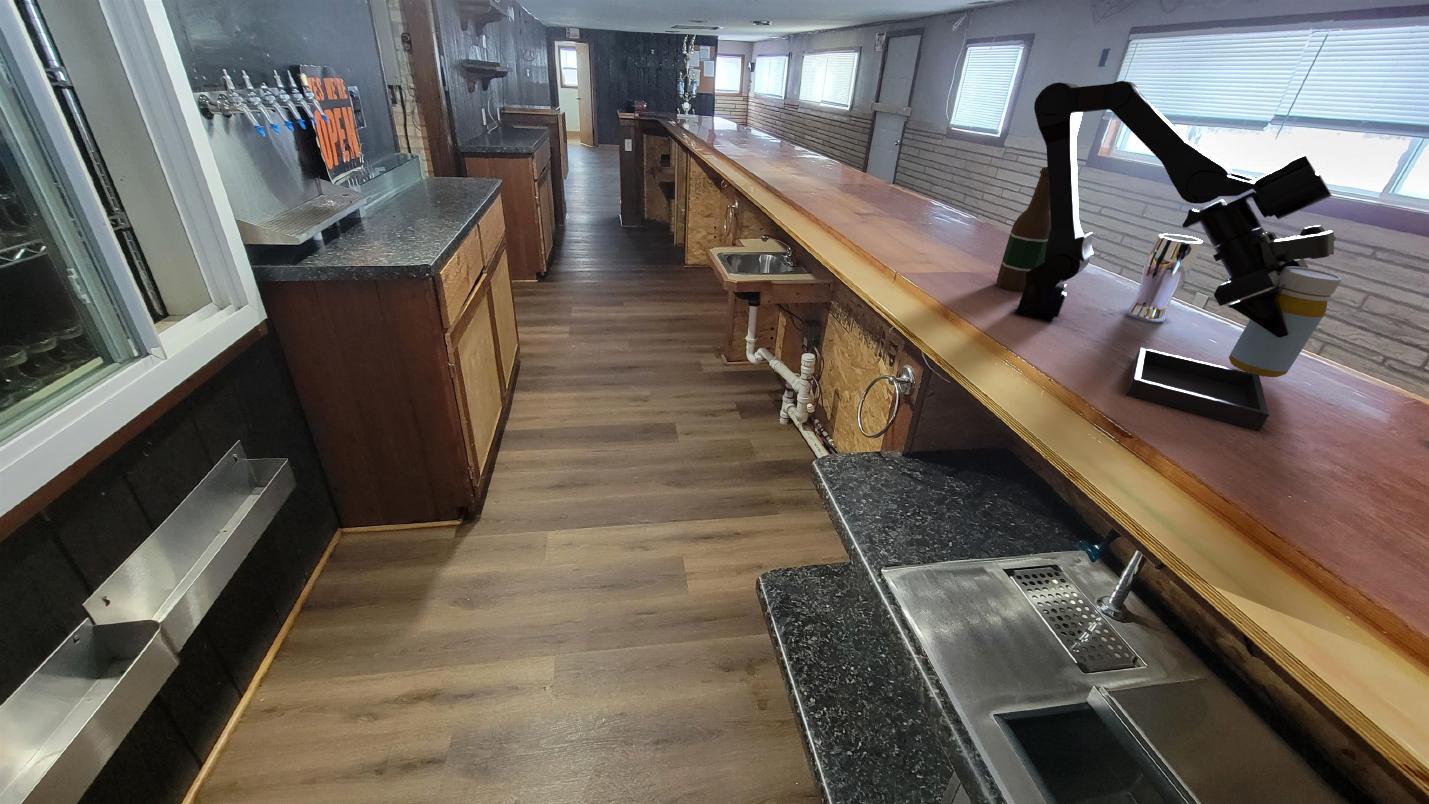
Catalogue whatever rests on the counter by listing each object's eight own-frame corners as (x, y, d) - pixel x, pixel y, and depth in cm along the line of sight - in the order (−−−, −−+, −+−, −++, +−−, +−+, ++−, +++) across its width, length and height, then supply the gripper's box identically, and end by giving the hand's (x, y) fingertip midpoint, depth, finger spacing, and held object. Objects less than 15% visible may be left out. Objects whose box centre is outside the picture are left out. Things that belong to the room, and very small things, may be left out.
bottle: (1257, 359, 90) (1313, 266, 82) (1297, 379, 84) (1361, 282, 76) (1215, 357, 89) (1267, 264, 82) (1252, 378, 83) (1311, 279, 76)
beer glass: (1153, 311, 111) (1188, 234, 104) (1175, 324, 105) (1213, 244, 98) (1117, 309, 112) (1149, 232, 104) (1136, 321, 106) (1171, 241, 98)
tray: (1126, 395, 79) (1133, 379, 78) (1133, 361, 90) (1140, 347, 89) (1259, 431, 72) (1269, 414, 71) (1250, 390, 82) (1259, 375, 81)
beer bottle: (1036, 285, 123) (1075, 168, 111) (1032, 295, 117) (1073, 172, 105) (998, 278, 127) (1032, 164, 115) (992, 287, 121) (1027, 167, 109)
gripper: (1290, 211, 73) (1353, 320, 71) (1326, 201, 82) (1382, 296, 80) (1190, 256, 82) (1243, 353, 80) (1233, 242, 92) (1281, 328, 90)
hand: (1290, 331), depth 82 cm, fingers closed on bottle, 6 cm apart
